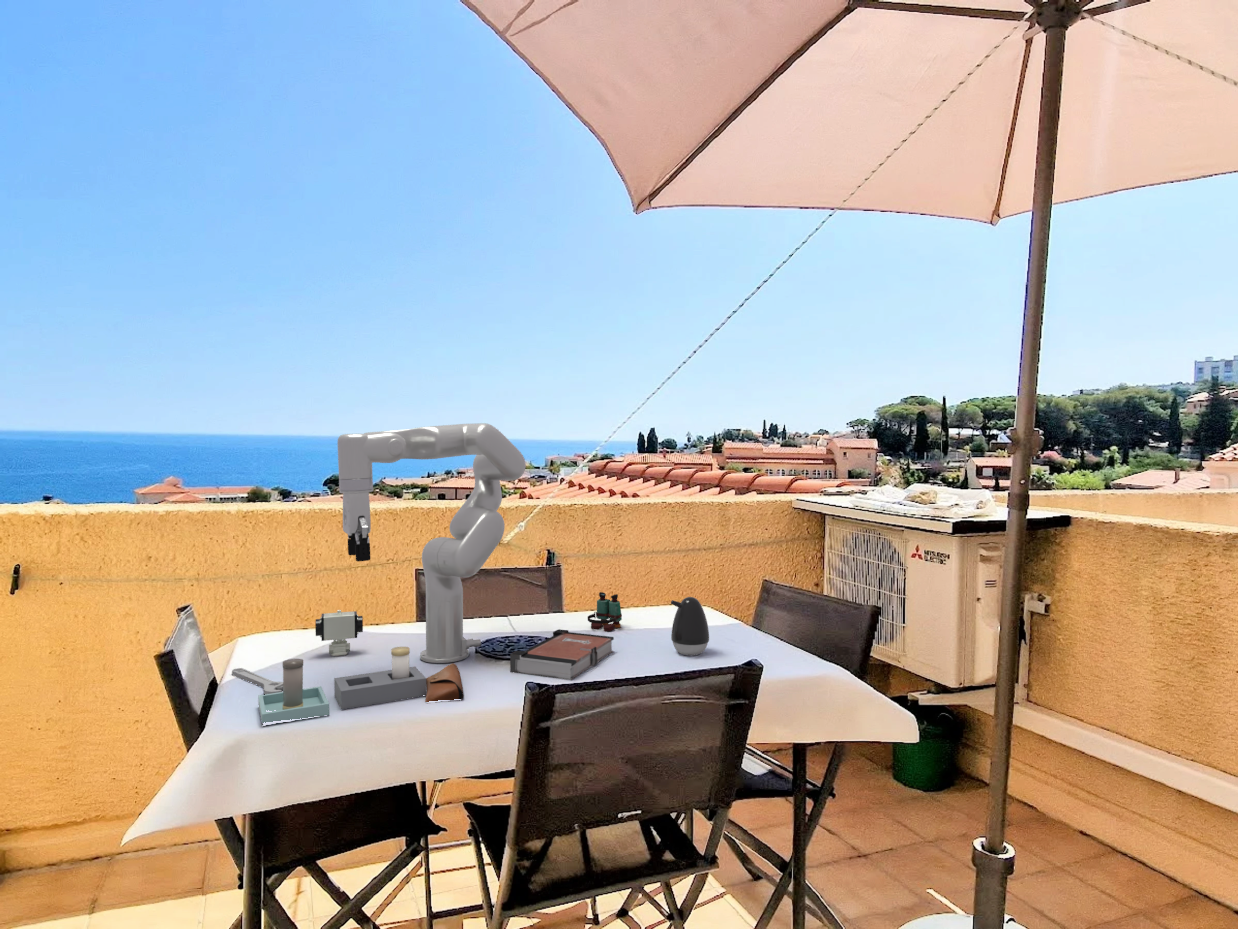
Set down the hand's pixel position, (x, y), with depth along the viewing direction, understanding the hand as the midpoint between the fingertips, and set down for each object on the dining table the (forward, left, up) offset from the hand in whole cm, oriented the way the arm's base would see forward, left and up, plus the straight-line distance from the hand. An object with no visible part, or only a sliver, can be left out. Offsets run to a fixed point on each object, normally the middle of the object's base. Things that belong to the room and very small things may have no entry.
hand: (359, 557), depth 176 cm
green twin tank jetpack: (-74, -15, -30) cm, 81 cm away
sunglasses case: (-16, +16, -30) cm, 37 cm away
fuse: (-6, +14, -29) cm, 33 cm away
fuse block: (-2, +14, -29) cm, 32 cm away
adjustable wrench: (+21, -9, -30) cm, 37 cm away
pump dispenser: (-82, +19, -30) cm, 89 cm away
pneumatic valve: (+1, -25, -30) cm, 39 cm away
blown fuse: (+16, +15, -29) cm, 36 cm away
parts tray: (+16, +15, -29) cm, 37 cm away
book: (-49, +10, -30) cm, 59 cm away
